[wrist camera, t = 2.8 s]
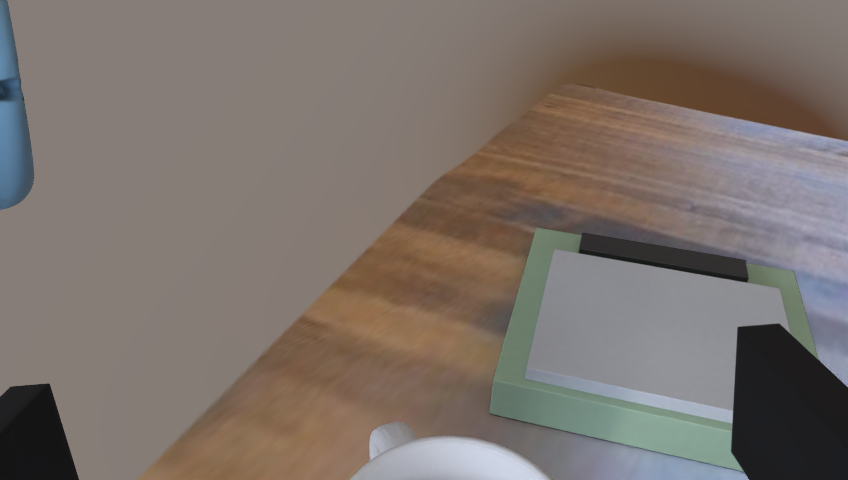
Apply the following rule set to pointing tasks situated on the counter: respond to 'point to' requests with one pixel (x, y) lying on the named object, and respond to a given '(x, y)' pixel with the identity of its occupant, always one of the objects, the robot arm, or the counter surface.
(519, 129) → the counter surface
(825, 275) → the counter surface
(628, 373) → the scale
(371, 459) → the cup
